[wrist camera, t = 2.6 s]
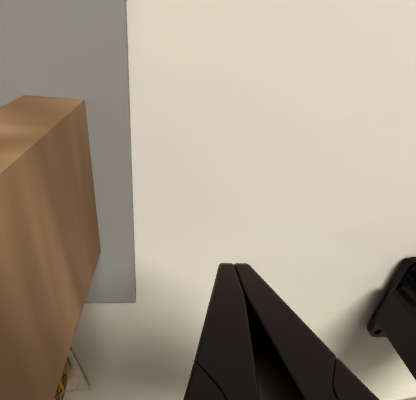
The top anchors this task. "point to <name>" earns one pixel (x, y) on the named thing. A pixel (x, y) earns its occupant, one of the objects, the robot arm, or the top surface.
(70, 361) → the condiment
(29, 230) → the wooden block
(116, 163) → the mat
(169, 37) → the top surface
